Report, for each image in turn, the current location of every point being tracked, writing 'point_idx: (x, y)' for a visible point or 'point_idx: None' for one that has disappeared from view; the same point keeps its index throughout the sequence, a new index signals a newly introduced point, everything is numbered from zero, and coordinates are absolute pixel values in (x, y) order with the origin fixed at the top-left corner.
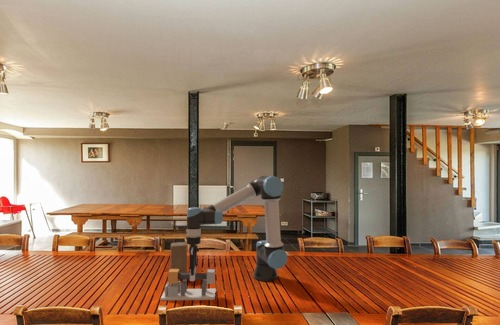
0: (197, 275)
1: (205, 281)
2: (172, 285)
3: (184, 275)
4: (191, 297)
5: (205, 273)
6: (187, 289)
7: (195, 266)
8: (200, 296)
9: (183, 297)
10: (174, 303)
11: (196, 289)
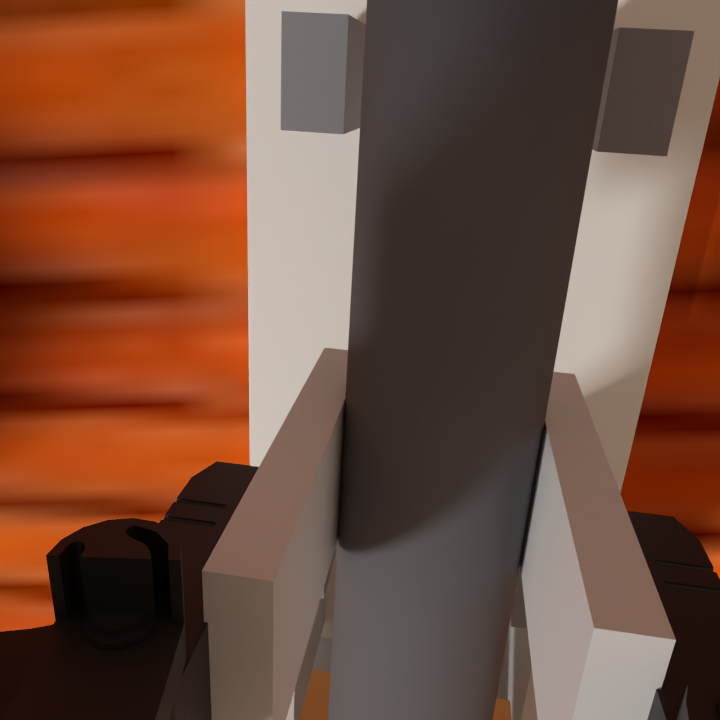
0: (546, 358)
1: (354, 51)
2: (307, 671)
3: (485, 717)
4: (650, 325)
5: (502, 22)
6: (275, 403)
7: (258, 604)
8: (645, 155)
9: (618, 453)
10: (715, 548)
11: (280, 250)
